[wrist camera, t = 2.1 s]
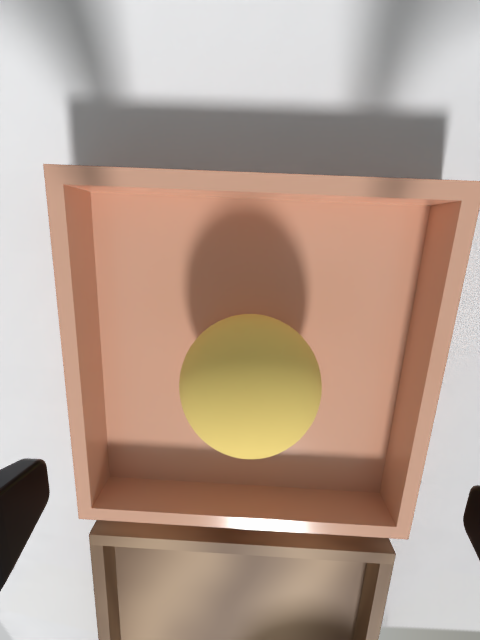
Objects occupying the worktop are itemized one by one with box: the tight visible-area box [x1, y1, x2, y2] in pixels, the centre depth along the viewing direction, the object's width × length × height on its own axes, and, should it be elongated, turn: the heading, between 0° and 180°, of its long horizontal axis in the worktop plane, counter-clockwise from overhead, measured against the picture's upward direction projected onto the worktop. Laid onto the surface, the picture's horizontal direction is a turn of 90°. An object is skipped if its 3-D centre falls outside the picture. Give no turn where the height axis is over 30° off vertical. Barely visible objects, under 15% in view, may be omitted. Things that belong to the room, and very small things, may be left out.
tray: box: [89, 520, 396, 640], centre depth 18 cm, size 14×13×2 cm
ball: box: [179, 314, 322, 459], centre depth 12 cm, size 5×5×5 cm
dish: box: [43, 164, 480, 539], centre depth 14 cm, size 14×14×2 cm
